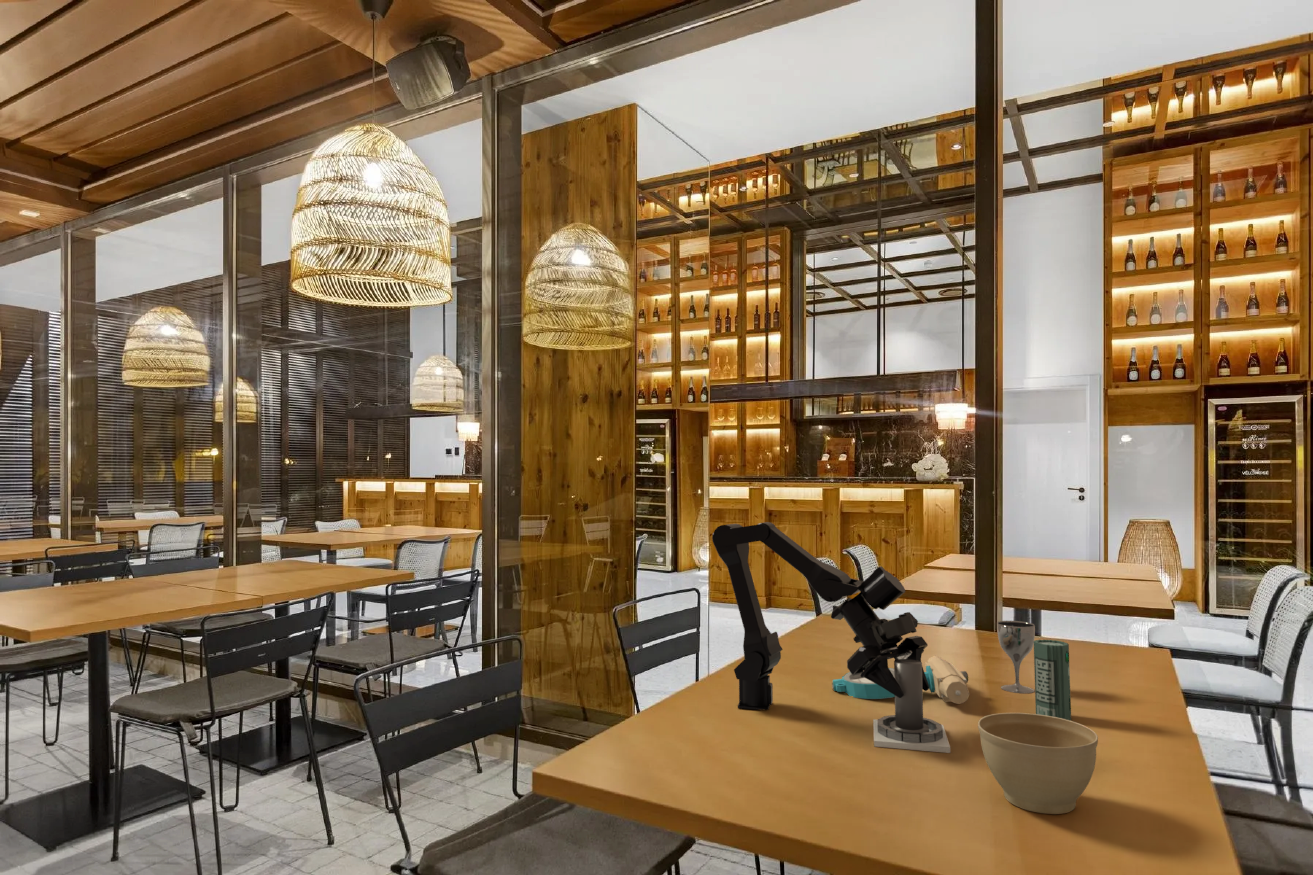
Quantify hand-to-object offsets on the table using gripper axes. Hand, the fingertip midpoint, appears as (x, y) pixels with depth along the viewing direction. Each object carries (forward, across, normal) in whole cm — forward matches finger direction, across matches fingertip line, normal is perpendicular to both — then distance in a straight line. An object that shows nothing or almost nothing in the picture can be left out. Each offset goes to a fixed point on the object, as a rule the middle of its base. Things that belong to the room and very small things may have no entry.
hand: (915, 693), depth 142 cm
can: (+12, +34, 0) cm, 37 cm away
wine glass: (+2, +49, +11) cm, 50 cm away
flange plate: (+5, 0, +7) cm, 9 cm away
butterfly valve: (-8, +24, +21) cm, 33 cm away
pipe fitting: (+4, 0, +6) cm, 8 cm away
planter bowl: (+26, -9, -13) cm, 30 cm away
